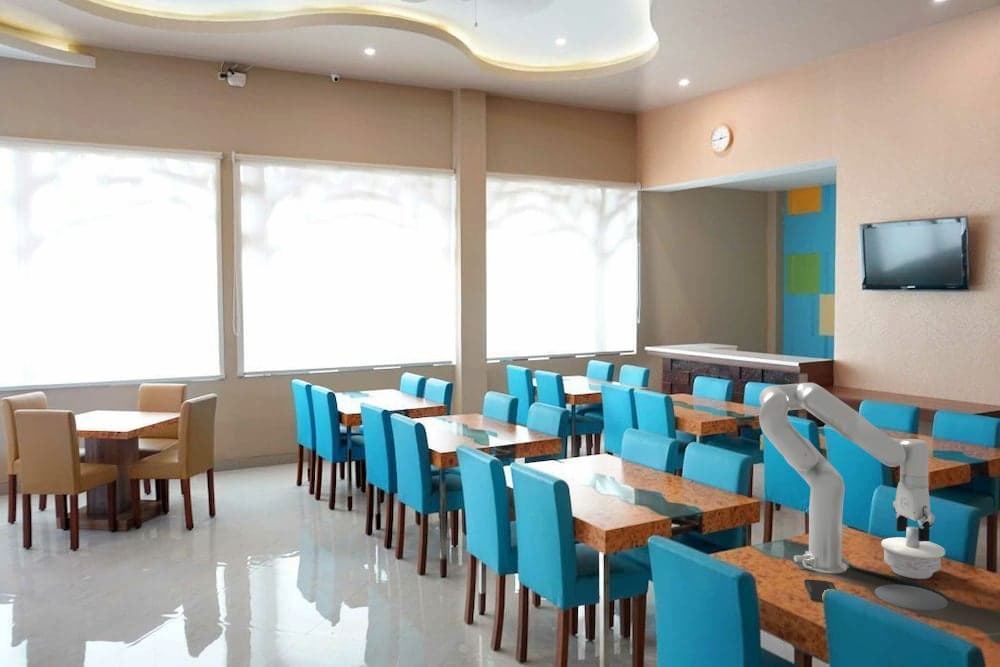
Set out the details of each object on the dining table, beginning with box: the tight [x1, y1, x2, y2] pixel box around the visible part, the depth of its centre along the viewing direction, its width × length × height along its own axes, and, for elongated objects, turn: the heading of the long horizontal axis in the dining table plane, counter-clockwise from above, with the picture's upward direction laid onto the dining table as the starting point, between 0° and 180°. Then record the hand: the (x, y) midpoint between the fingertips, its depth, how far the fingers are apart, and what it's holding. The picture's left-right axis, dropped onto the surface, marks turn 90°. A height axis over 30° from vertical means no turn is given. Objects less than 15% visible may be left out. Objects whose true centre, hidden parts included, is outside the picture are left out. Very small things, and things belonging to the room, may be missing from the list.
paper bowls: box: [883, 548, 942, 580], centre depth 231 cm, size 15×15×8 cm
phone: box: [804, 578, 836, 603], centre depth 217 cm, size 8×1×15 cm
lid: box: [881, 526, 946, 558], centre depth 230 cm, size 17×17×6 cm
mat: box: [874, 584, 948, 611], centre depth 212 cm, size 18×18×1 cm
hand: (912, 535), depth 230 cm, fingers open, 9 cm apart
